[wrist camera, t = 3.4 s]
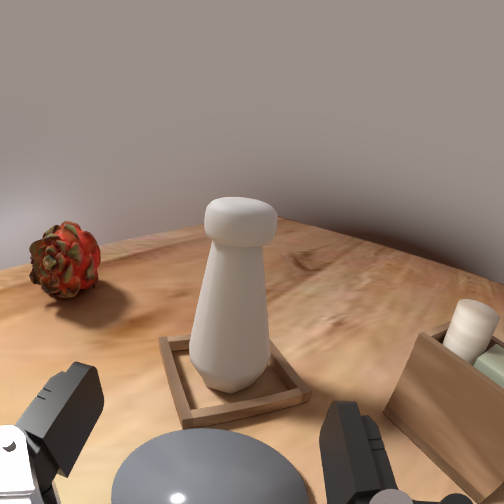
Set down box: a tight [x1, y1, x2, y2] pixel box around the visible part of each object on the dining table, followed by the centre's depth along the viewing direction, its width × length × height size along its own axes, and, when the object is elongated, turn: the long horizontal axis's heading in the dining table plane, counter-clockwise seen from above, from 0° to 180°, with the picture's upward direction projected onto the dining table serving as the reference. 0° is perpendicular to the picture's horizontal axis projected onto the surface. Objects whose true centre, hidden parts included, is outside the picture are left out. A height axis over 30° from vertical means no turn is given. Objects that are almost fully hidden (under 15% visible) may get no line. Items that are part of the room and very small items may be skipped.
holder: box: [159, 335, 311, 429], centre depth 22 cm, size 9×9×1 cm
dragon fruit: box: [29, 221, 101, 299], centre depth 30 cm, size 8×8×12 cm
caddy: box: [383, 299, 504, 504], centre depth 14 cm, size 6×11×9 cm, turn 23°
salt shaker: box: [189, 197, 278, 394], centre depth 20 cm, size 6×6×13 cm
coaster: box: [111, 428, 309, 504], centre depth 12 cm, size 10×10×1 cm
